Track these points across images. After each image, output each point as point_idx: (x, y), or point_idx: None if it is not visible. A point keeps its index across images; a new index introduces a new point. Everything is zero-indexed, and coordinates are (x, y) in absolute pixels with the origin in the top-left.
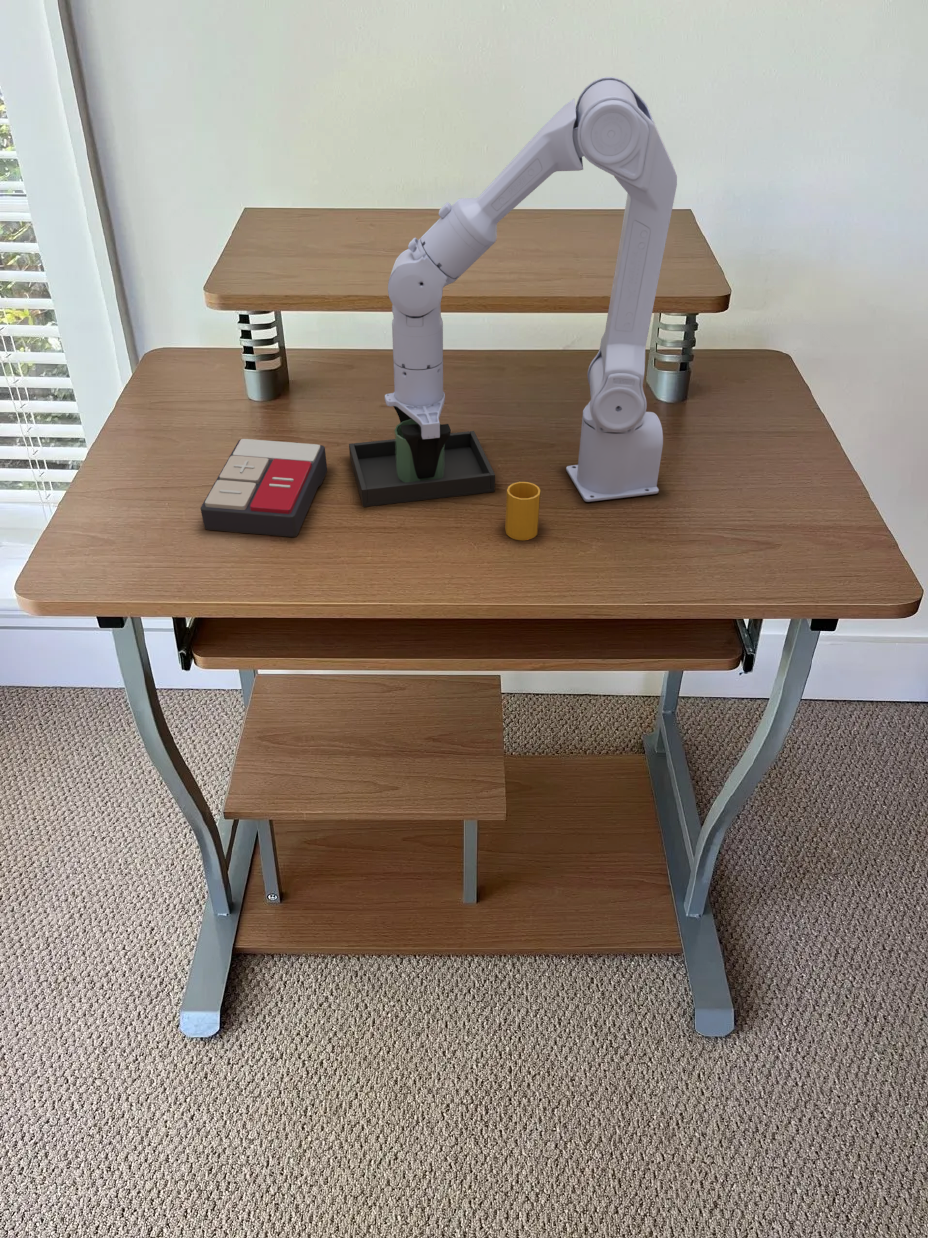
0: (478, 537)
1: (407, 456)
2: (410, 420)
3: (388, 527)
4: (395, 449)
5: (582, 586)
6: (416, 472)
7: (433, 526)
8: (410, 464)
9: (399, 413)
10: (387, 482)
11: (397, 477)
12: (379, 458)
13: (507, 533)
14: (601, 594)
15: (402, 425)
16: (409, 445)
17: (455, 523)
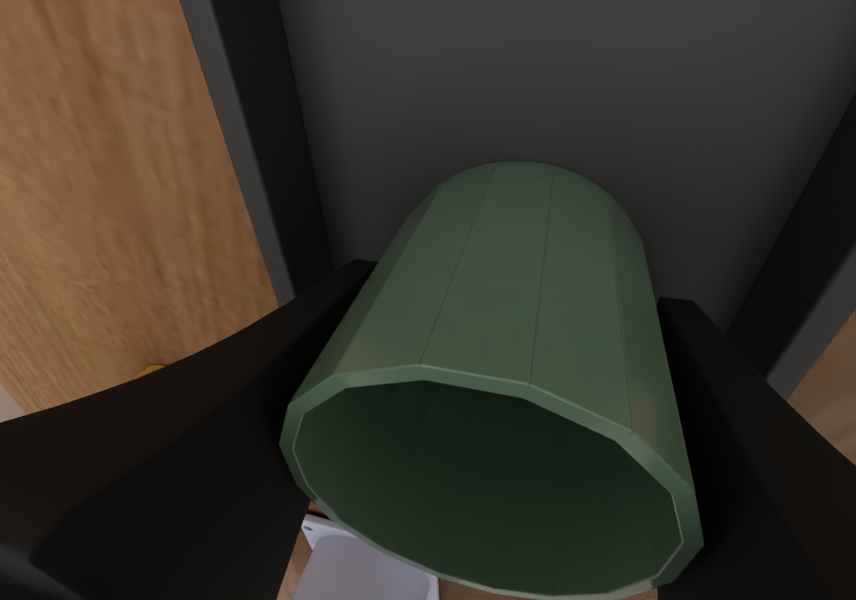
0: (127, 306)
1: (360, 296)
2: (677, 534)
3: (77, 2)
4: (526, 250)
5: (39, 396)
6: (329, 275)
7: (144, 205)
8: (370, 275)
9: (796, 581)
10: (462, 84)
11: (503, 158)
12: (824, 89)
13: (153, 368)
14: (32, 407)
15: (43, 566)
16: (78, 400)
17: (180, 275)
